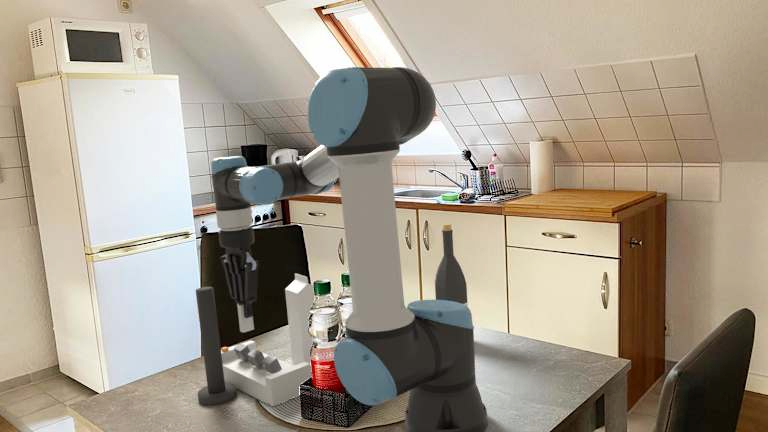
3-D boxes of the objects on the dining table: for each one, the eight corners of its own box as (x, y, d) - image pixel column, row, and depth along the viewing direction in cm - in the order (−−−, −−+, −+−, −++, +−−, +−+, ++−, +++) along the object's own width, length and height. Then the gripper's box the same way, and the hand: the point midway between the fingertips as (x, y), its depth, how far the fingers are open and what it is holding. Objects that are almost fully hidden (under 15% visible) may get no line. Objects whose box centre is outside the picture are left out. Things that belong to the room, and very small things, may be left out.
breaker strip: (312, 390, 137) (309, 361, 136) (273, 407, 131) (270, 376, 130) (253, 363, 155) (250, 337, 154) (216, 377, 148) (212, 350, 147)
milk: (305, 372, 147) (295, 280, 144) (292, 365, 152) (282, 275, 148) (327, 365, 151) (318, 274, 147) (314, 358, 156) (305, 270, 152)
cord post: (243, 395, 137) (231, 287, 133) (209, 409, 132) (195, 296, 128) (225, 385, 143) (212, 281, 139) (191, 398, 138) (177, 290, 134)
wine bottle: (433, 347, 157) (425, 227, 152) (443, 336, 164) (436, 221, 159) (465, 350, 153) (458, 227, 149) (474, 338, 161) (467, 221, 156)
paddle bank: (287, 373, 136) (280, 359, 135) (280, 379, 135) (273, 365, 134) (243, 354, 149) (237, 341, 148) (236, 359, 148) (230, 346, 147)
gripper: (266, 226, 138) (277, 331, 142) (235, 222, 147) (246, 320, 151) (235, 233, 133) (247, 341, 137) (205, 227, 142) (217, 329, 146)
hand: (247, 330), depth 144 cm, fingers closed
